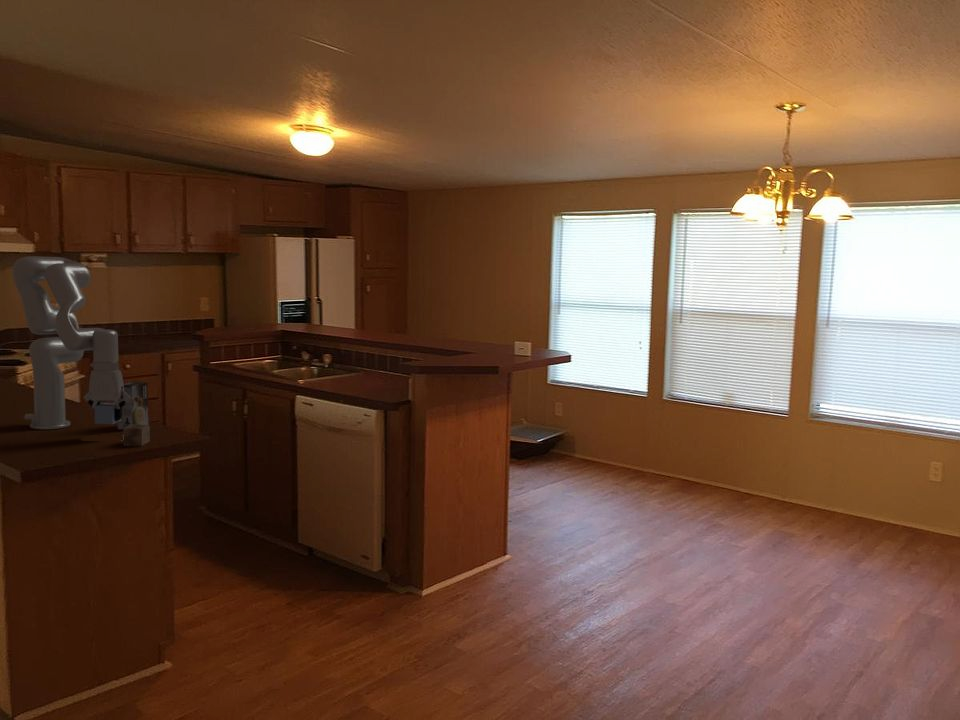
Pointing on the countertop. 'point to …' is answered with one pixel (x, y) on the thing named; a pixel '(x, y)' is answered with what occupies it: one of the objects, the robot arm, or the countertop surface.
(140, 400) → the coffee box
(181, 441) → the countertop surface
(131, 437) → the walnut block
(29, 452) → the countertop surface
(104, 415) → the blue cube
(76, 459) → the countertop surface
